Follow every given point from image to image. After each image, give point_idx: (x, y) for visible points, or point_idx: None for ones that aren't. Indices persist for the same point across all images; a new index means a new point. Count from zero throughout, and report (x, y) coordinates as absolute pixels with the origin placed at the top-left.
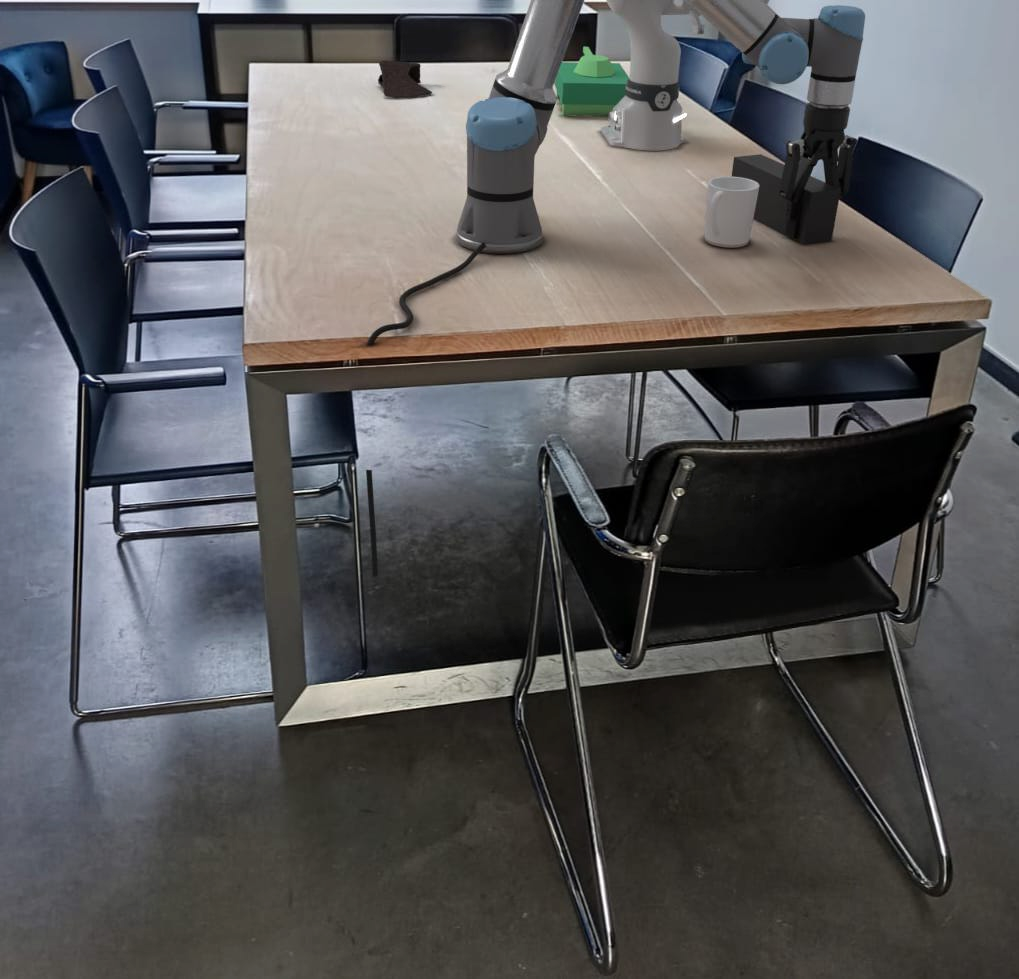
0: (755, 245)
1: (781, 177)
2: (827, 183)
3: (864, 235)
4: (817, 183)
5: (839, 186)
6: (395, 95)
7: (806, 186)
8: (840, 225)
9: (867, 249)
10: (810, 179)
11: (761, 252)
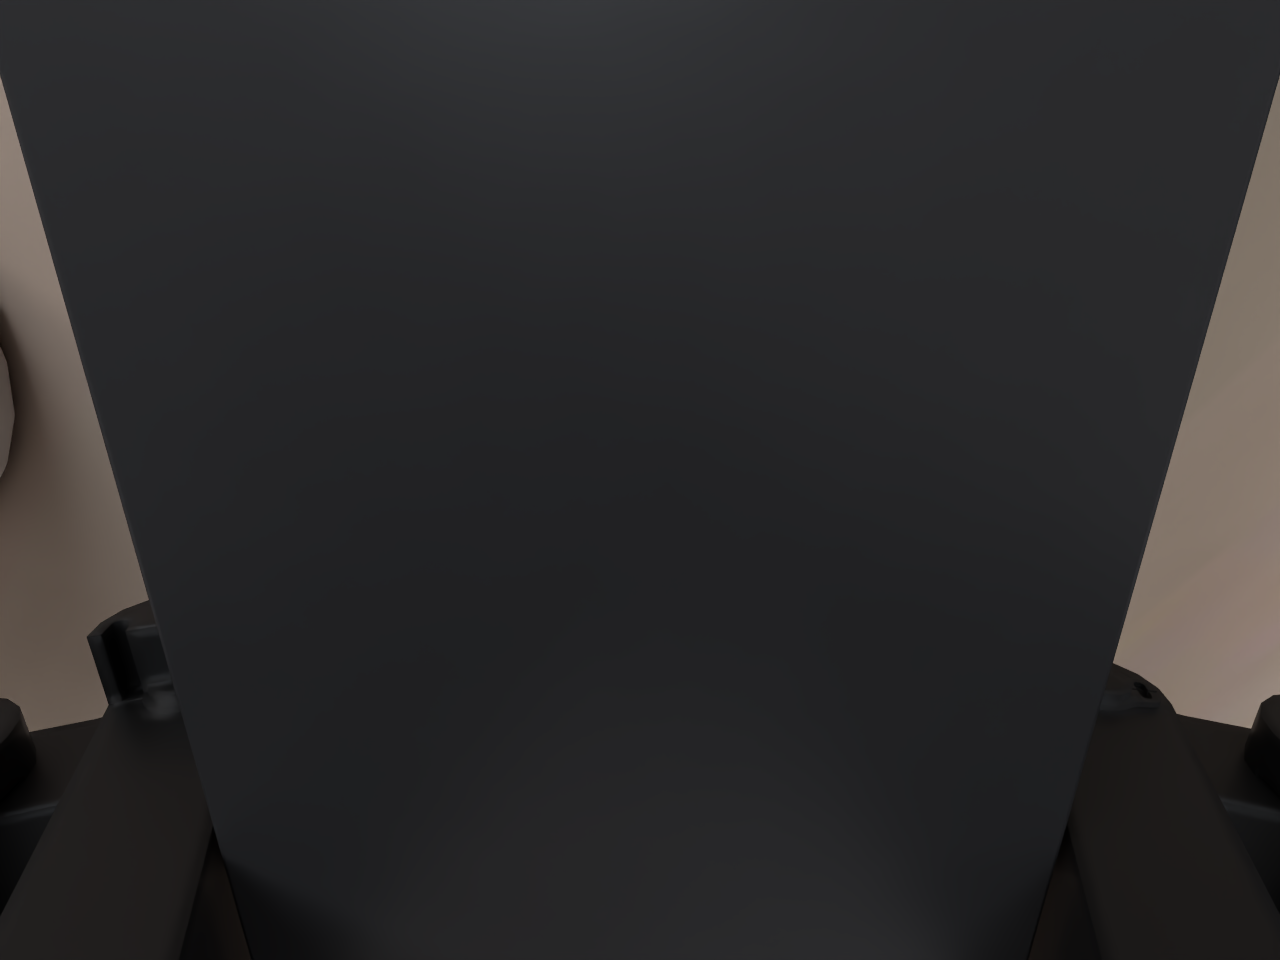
0: (71, 524)
1: (78, 20)
2: (1031, 925)
3: (1155, 614)
4: (815, 866)
5: (1276, 876)
6: None
7: (416, 955)
8: (1215, 311)
9: None
10: (906, 564)
11: (66, 670)
